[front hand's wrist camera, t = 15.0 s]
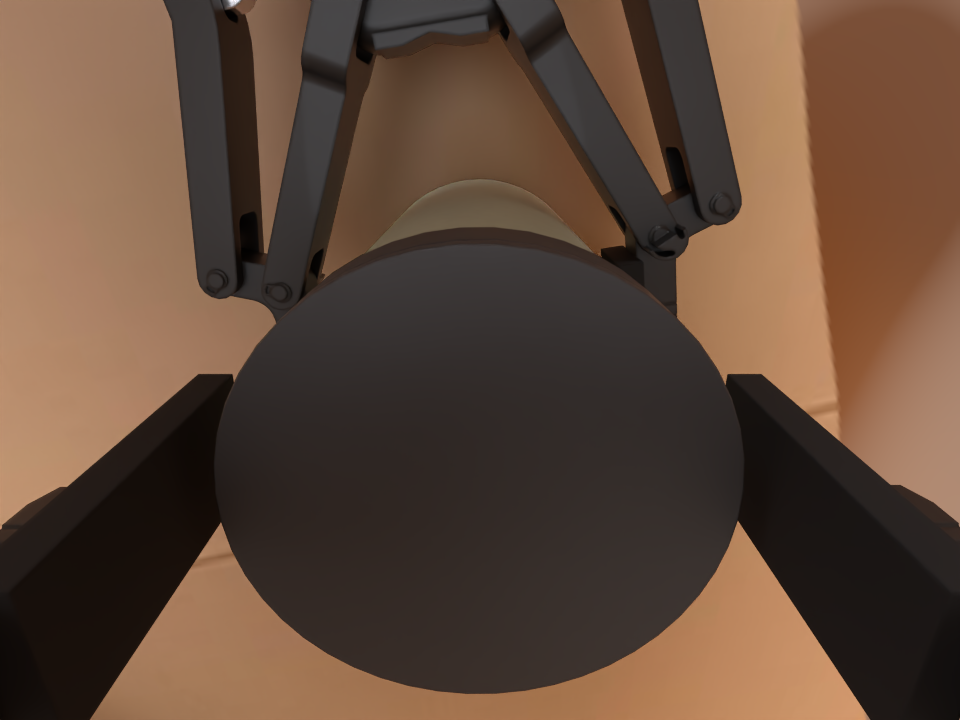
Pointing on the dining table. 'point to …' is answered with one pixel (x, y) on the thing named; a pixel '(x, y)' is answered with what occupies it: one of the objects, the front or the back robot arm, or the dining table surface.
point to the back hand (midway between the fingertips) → (497, 448)
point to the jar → (479, 212)
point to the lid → (479, 463)
